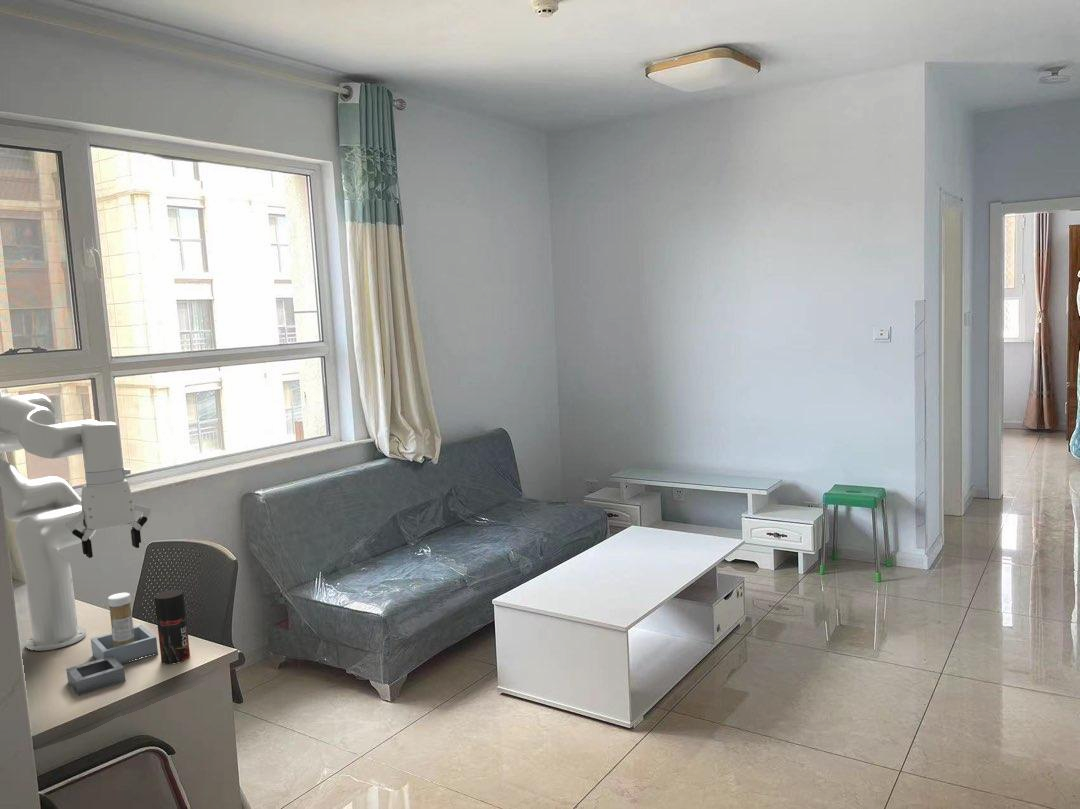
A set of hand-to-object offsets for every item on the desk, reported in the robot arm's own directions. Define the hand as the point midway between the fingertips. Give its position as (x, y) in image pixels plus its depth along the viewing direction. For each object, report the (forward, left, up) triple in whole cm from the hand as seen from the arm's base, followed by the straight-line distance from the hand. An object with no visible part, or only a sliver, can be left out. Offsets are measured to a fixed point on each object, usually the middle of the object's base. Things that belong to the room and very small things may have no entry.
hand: (113, 551), depth 185 cm
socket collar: (+11, -8, -24) cm, 28 cm away
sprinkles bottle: (0, 0, -24) cm, 24 cm away
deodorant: (+12, +8, -25) cm, 28 cm away
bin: (0, 0, -24) cm, 24 cm away
